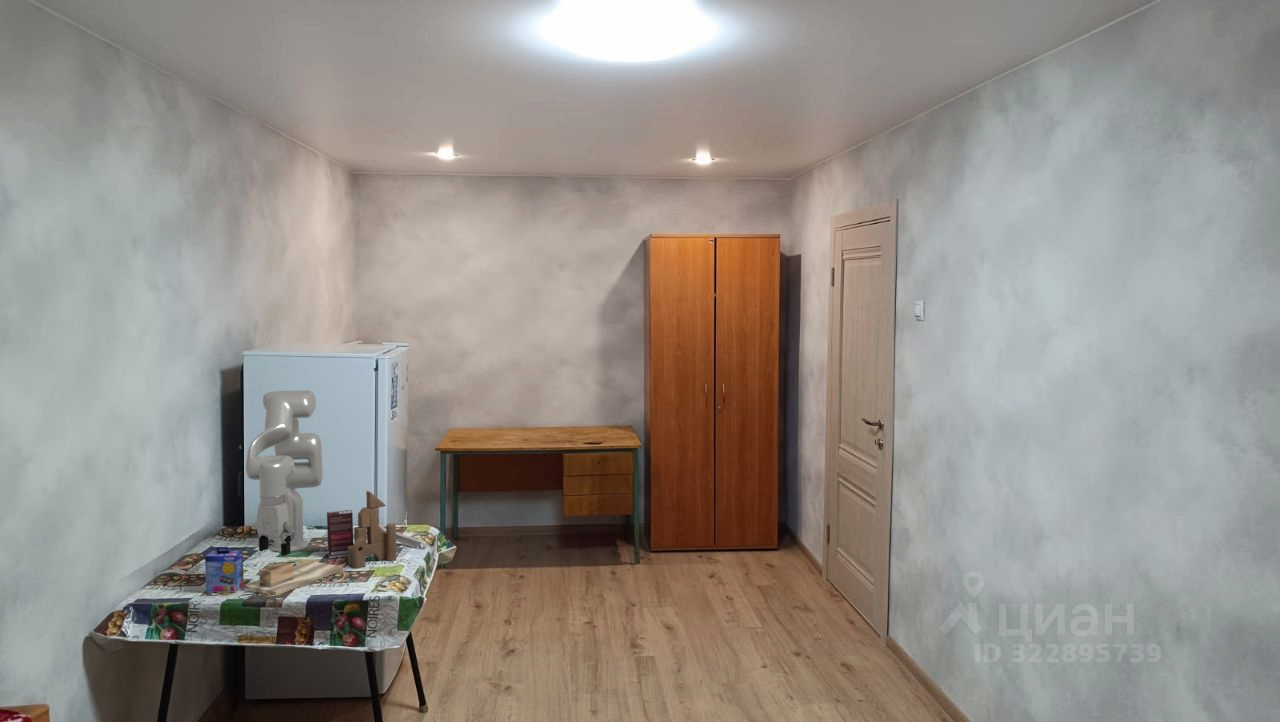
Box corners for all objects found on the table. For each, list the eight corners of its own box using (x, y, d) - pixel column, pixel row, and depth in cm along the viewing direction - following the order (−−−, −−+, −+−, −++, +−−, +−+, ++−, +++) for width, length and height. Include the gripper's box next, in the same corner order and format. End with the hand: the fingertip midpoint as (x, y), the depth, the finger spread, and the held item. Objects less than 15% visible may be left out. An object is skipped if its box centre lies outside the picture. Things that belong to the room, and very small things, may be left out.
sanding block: (259, 585, 274) (259, 569, 274) (282, 577, 282) (282, 562, 282) (271, 587, 272) (270, 571, 272) (293, 579, 280) (293, 564, 280)
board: (244, 589, 274) (244, 585, 274) (312, 565, 299) (312, 561, 299) (276, 596, 268) (275, 591, 268) (343, 571, 293) (343, 566, 293)
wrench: (422, 557, 319) (362, 537, 333) (425, 556, 321) (366, 536, 334) (424, 536, 318) (363, 517, 331) (427, 535, 320) (367, 516, 333)
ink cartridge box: (205, 593, 270) (203, 548, 269) (212, 588, 276) (210, 543, 275) (237, 593, 271) (236, 547, 270) (244, 587, 277) (243, 542, 276)
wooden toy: (355, 569, 295) (354, 496, 294) (347, 564, 300) (346, 493, 299) (397, 560, 306) (396, 490, 304) (389, 556, 311) (388, 487, 309)
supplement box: (352, 552, 315) (351, 509, 314) (353, 556, 310) (353, 512, 309) (327, 555, 311) (326, 511, 310) (328, 558, 307) (327, 514, 306)
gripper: (244, 499, 275) (245, 551, 277) (283, 506, 267) (285, 560, 269) (263, 493, 282) (265, 545, 283) (302, 500, 274) (303, 553, 276)
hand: (274, 552), depth 276 cm, fingers open, 9 cm apart
